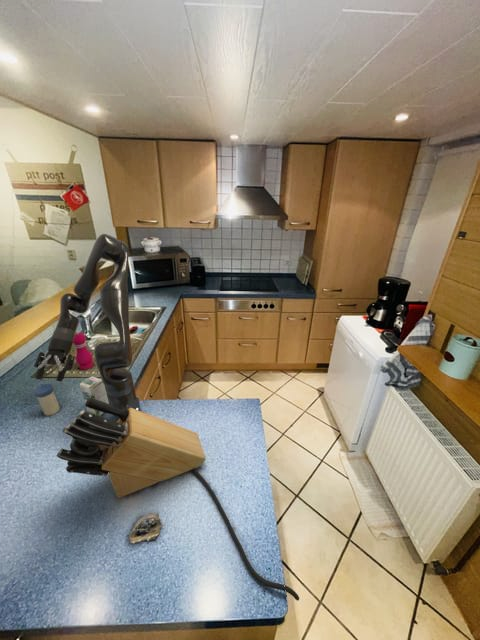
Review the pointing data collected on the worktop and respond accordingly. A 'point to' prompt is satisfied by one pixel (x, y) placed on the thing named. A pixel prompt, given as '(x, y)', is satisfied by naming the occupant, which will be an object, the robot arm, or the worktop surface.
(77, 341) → the pepper mill
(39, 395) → the lid
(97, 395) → the syrup box
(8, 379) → the worktop surface
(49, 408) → the jar
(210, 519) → the worktop surface
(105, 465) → the knife block
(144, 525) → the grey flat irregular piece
